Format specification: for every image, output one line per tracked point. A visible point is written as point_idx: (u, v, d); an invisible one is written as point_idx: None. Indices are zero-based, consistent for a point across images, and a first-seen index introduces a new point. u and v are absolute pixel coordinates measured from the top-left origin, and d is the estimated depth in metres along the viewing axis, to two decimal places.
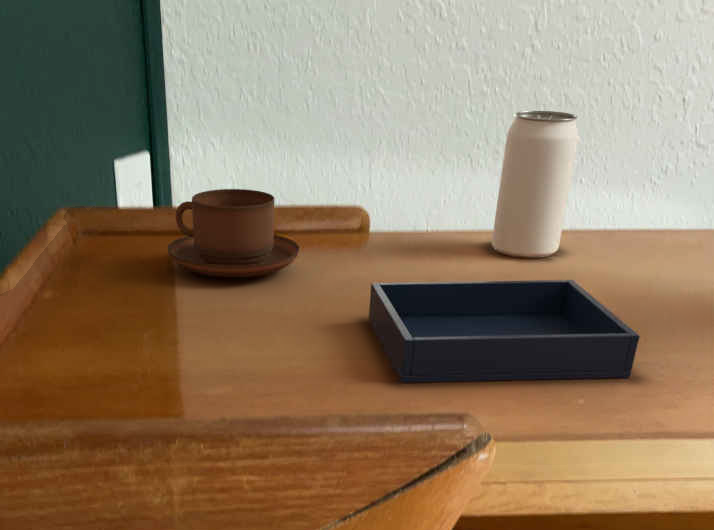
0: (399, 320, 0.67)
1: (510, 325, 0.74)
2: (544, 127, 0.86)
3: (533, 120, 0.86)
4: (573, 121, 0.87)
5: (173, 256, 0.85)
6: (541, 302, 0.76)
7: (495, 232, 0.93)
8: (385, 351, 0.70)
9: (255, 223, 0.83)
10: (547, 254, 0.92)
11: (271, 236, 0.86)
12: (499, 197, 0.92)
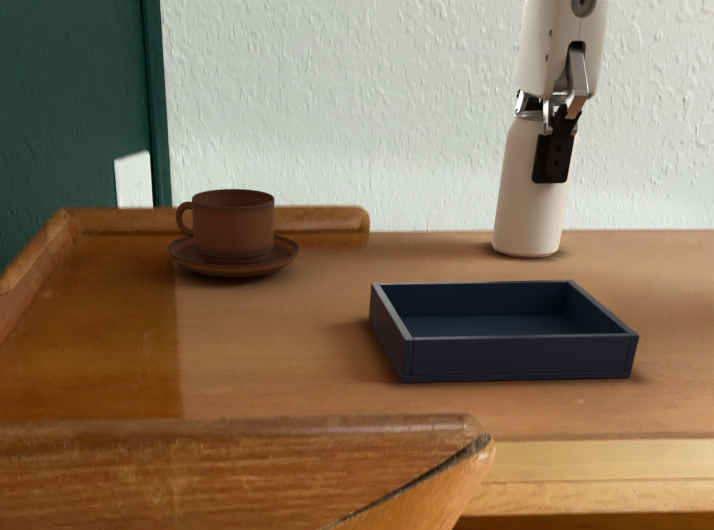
0: (399, 320, 0.67)
1: (510, 325, 0.74)
2: None
3: (533, 120, 0.86)
4: None
5: (173, 256, 0.85)
6: (541, 302, 0.76)
7: (495, 232, 0.93)
8: (385, 351, 0.70)
9: (255, 223, 0.83)
10: (547, 254, 0.92)
11: (271, 236, 0.86)
12: (499, 197, 0.92)
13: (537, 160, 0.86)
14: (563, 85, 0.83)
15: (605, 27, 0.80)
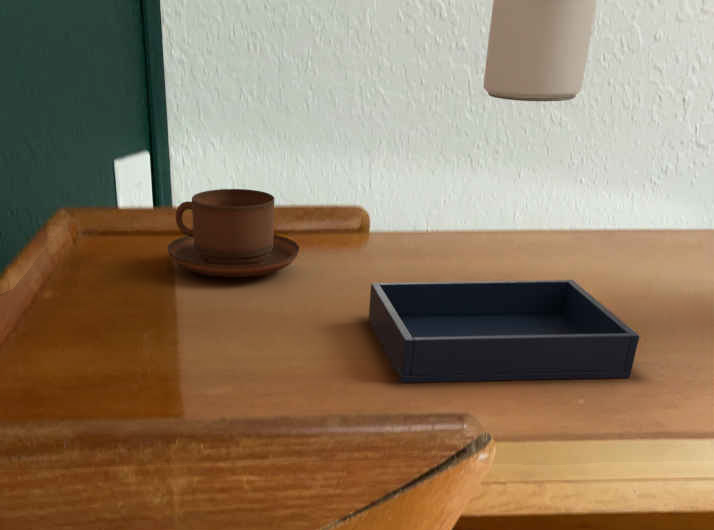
0: (399, 320, 0.67)
1: (510, 325, 0.74)
2: None
3: None
4: None
5: (173, 256, 0.85)
6: (541, 302, 0.76)
7: (488, 66, 0.63)
8: (385, 351, 0.70)
9: (255, 223, 0.83)
10: (564, 96, 0.62)
11: (271, 236, 0.86)
12: (494, 9, 0.62)
13: None
14: None
15: None
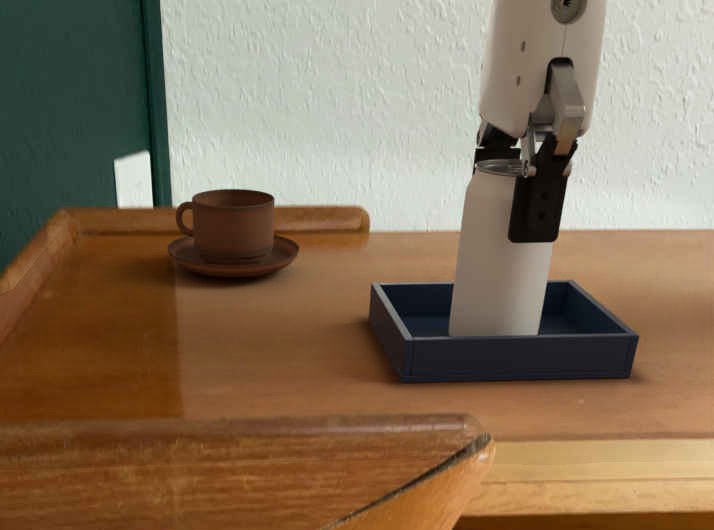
0: (399, 320, 0.67)
1: None
2: (514, 184, 0.63)
3: (499, 175, 0.63)
4: None
5: (173, 256, 0.85)
6: None
7: (452, 318, 0.70)
8: (385, 351, 0.70)
9: (255, 223, 0.83)
10: None
11: (271, 236, 0.86)
12: (456, 273, 0.68)
13: (515, 211, 0.61)
14: (543, 118, 0.60)
15: (600, 38, 0.56)
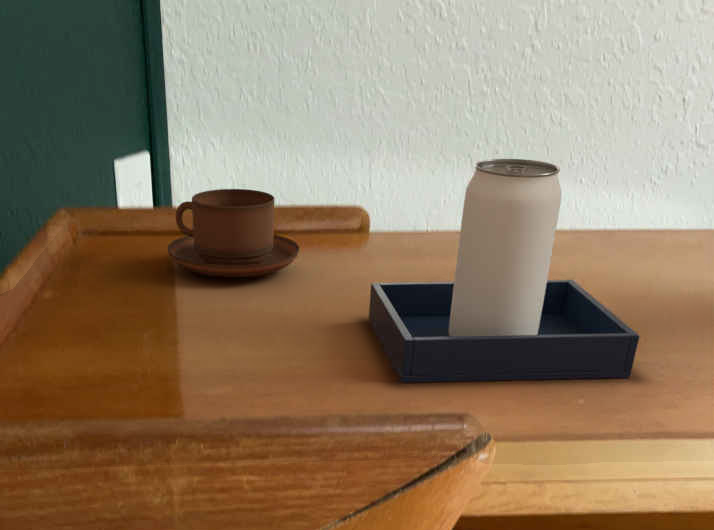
0: (399, 320, 0.67)
1: None
2: (514, 184, 0.63)
3: (499, 175, 0.63)
4: (554, 176, 0.63)
5: (173, 256, 0.85)
6: None
7: (452, 318, 0.70)
8: (385, 351, 0.70)
9: (255, 223, 0.83)
10: None
11: (271, 236, 0.86)
12: (456, 273, 0.68)
13: None
14: None
15: None
